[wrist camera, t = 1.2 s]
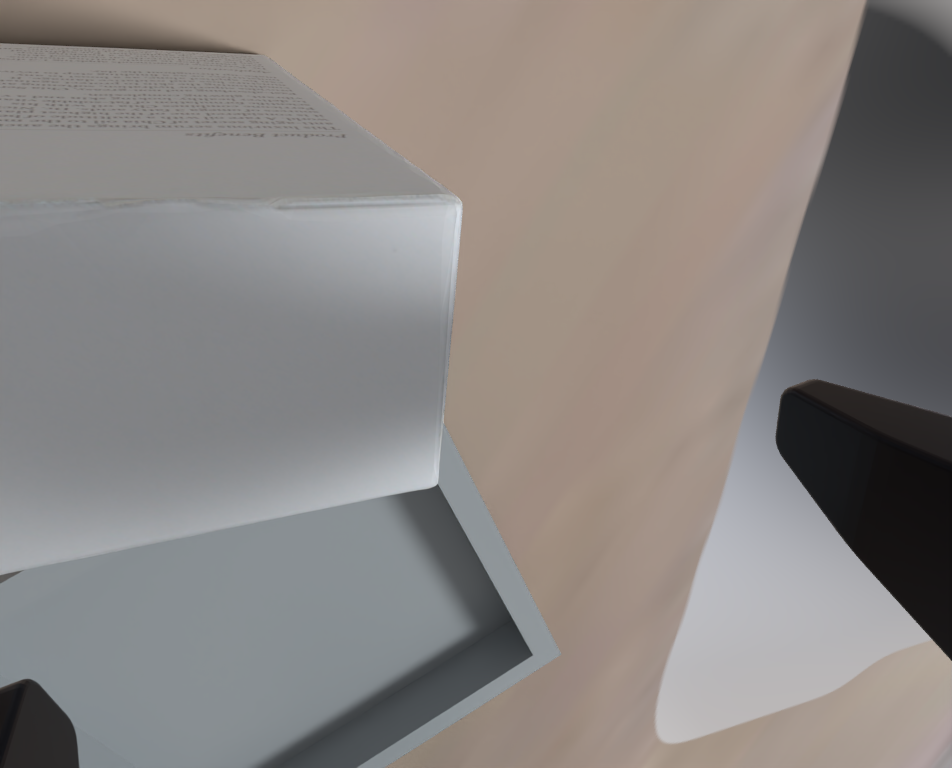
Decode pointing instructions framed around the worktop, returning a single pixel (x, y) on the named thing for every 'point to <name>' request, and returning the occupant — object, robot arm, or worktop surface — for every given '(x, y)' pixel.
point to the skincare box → (206, 301)
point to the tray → (282, 635)
